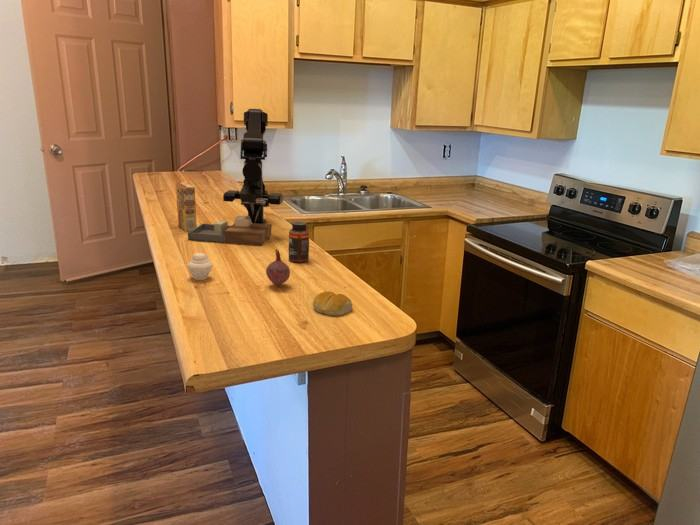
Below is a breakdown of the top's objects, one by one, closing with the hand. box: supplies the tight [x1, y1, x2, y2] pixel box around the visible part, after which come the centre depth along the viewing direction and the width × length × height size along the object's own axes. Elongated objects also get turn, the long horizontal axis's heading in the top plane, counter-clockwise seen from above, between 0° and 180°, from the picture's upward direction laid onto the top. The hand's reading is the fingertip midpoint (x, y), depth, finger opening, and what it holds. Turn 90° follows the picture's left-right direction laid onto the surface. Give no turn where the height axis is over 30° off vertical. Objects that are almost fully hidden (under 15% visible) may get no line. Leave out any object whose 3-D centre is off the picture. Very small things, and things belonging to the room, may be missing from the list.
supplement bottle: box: [288, 221, 310, 264], centre depth 157 cm, size 6×6×11 cm
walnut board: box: [224, 222, 272, 247], centre depth 176 cm, size 13×12×4 cm
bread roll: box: [312, 291, 353, 317], centre depth 124 cm, size 8×9×4 cm
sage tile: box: [213, 220, 229, 236], centre depth 177 cm, size 4×4×2 cm
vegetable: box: [265, 248, 291, 287], centre depth 135 cm, size 6×6×10 cm
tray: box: [187, 223, 232, 244], centre depth 178 cm, size 13×12×2 cm
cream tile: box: [234, 215, 252, 227], centre depth 179 cm, size 4×4×2 cm
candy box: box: [175, 182, 198, 232], centre depth 184 cm, size 9×4×15 cm, turn 33°
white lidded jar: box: [187, 252, 213, 281], centre depth 138 cm, size 6×6×7 cm
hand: (253, 222), depth 179 cm, fingers closed
